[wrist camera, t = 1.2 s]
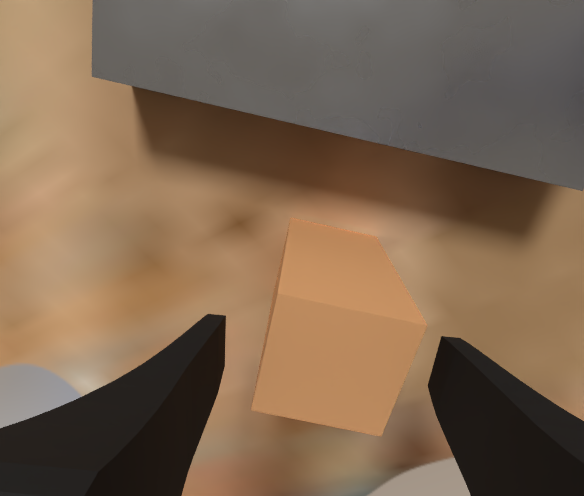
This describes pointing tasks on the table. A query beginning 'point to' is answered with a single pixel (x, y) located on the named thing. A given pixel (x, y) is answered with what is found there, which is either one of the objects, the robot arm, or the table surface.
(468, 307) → the table surface
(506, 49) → the collar
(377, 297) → the tan square post
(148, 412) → the robot arm
